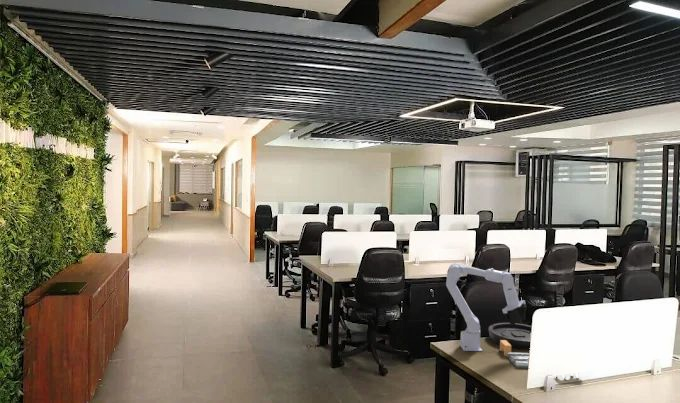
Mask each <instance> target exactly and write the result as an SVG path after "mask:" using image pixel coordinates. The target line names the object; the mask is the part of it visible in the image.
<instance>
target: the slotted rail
mask: <svg viewBox="0 0 680 403" xmlns="http://www.w3.org/2000/svg"><path fill="white" fill-rule="evenodd" d="M529 356H530V353H529V352H512V351H511V352H507V356H506V358H507V359H508V360H509V361H510V363H512V364H513V366H514V367H515V368H516V369H529V368H528V358H529Z"/></svg>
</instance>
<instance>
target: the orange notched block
mask: <svg viewBox="0 0 680 403" xmlns="http://www.w3.org/2000/svg"><path fill="white" fill-rule="evenodd" d="M499 351H500V352H503V356H505V357H507V352H511V353H512V348H511V345H510V344H509V343H508V342H507V341H506V340H500V345H499Z"/></svg>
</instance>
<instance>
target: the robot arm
mask: <svg viewBox="0 0 680 403" xmlns="http://www.w3.org/2000/svg"><path fill="white" fill-rule="evenodd" d="M446 272H447V273H446V281H445V286H446V288H447V290H448V292H449V294H450V295H451V297H452V298H453V300H454V302H455V304H456V306H457V308H458V309H459V311H460V313H461V315H462V316H463V319H464V321H465V323H466V328H465V330H462V331H461V330H460V341H459V342H460V343H459V346H460V347H461V349H462V351H463V352H483V349H482V348H481V325H480V320H479V318H478V317H477V316H476V315H475V314H474V313H473V312H472V310H471V309H470V307H469V305H468V303H467V301H466V300H465V298H464V297H463V294H462V293H461V291H460V289H459V287H458V286H457V282H458V280H459V279H460V278H461V276H463V277H464V276H466V275H472V276H473V275H474V276H479V277H484V278H485V280H486V281H490V282H494V283H498V284H500V283H501V284H502V287H503V288H502V289H503V293H504V296H505V300H506V304H507V305H506V306H505V307H504V308H502V309H501V310H502V314H503V316H504V317H505V318H506V319H507V320H508V323H510V324H511V325H512V326H515V323H516V321H515V312H513V311H514V310H515V309H516V310H517V312H518V314H519V317H520V321H526V320H527V319H526V315H527V314H526V313H527V308H528V306H527V304H526V300H524V299H522V300H519V297H518V293H517V289H516V286H515V283H514V280H515V279H514V276H513V275H512V274H511V273H510V272H508V271H503V270H501V271H500V270H496V269H494V268H493V267H491V268H488V269H485V270H484V269H480V268H479V267H478V268H477V267H473V266H470V265H465V264H458V263H452V264H450V265H449V267H448V269H447V271H446Z"/></svg>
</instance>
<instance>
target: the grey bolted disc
mask: <svg viewBox="0 0 680 403" xmlns="http://www.w3.org/2000/svg"><path fill="white" fill-rule="evenodd" d="M531 326H532V325H529V324H523V323H516V322H515V326H512V325H511V324H510V322H498V323H493V324H491V325H489V326H488V333H489V334H488V335H489V337H490V339H491V341H492V342H493V343H496V344H497V345H499V346H500V340H506V341H507V342H508V343H509V344H510V345H511V350H520V351H530V350H529V348H530V331H531Z"/></svg>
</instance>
